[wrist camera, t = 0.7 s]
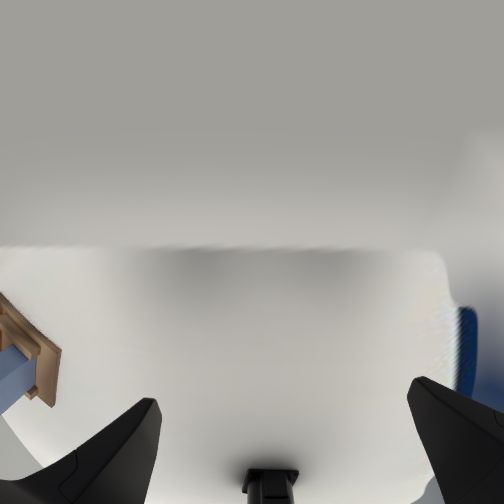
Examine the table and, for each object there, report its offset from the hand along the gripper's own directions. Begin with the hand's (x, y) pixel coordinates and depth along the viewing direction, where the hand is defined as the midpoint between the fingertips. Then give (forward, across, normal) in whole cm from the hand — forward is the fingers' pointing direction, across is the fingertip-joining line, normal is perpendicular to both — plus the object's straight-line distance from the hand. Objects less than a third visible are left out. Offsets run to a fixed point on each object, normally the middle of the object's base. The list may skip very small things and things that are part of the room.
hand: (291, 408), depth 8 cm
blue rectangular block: (+12, +30, +11) cm, 34 cm away
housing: (+14, +31, +10) cm, 35 cm away
